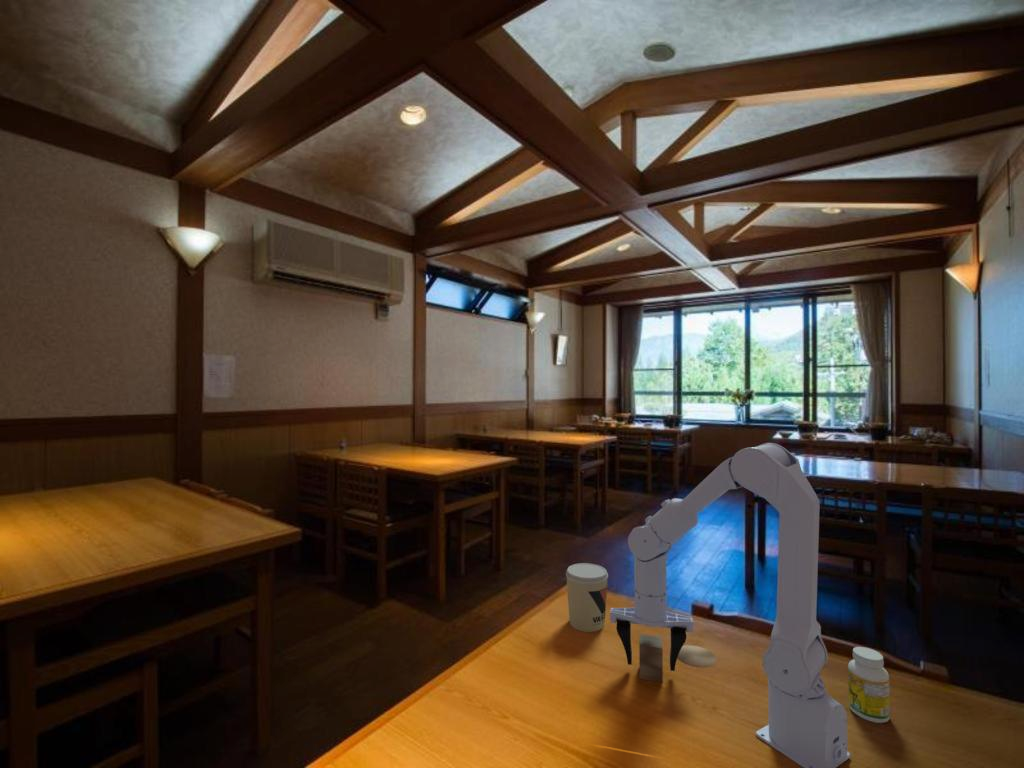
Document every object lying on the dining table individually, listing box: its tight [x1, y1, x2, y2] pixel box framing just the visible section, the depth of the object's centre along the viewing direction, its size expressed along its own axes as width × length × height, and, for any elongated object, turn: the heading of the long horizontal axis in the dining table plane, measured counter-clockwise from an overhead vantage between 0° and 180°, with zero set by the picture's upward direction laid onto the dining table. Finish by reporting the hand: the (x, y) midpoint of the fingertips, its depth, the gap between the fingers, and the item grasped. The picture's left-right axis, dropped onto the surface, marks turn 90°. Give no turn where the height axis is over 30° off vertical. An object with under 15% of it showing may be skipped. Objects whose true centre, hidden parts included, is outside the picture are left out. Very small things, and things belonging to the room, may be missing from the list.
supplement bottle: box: [847, 646, 891, 724], centre depth 78 cm, size 5×5×10 cm
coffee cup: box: [565, 562, 609, 633], centre depth 107 cm, size 9×9×12 cm
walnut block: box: [638, 634, 664, 683], centre depth 88 cm, size 4×4×6 cm
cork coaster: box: [677, 644, 717, 668], centre depth 94 cm, size 8×8×1 cm
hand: (650, 664), depth 88 cm, fingers open, 7 cm apart
